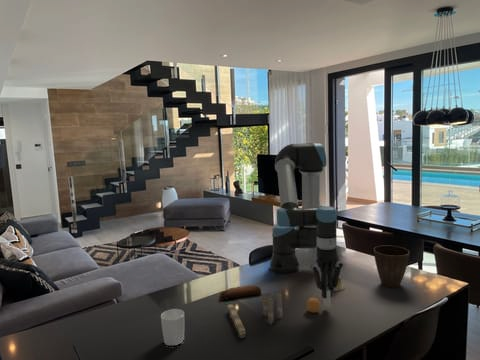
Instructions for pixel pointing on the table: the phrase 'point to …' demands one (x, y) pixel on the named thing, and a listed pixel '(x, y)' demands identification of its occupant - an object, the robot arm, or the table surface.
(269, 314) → the pin
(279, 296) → the front pin
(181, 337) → the white cup
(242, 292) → the sunglasses case
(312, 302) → the ball
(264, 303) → the pin
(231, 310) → the grey long bar
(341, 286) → the hand bell
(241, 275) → the table surface
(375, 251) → the plant pot
